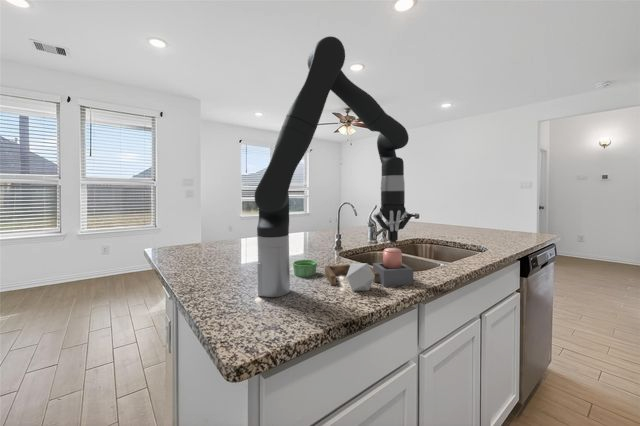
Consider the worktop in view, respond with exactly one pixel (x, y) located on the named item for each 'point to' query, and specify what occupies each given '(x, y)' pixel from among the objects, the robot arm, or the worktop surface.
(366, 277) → the die
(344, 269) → the walnut bay
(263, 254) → the robot arm
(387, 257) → the popper button
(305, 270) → the ramekin
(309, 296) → the worktop surface
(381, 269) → the box
